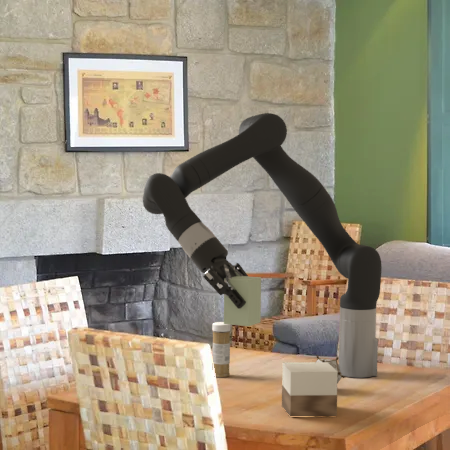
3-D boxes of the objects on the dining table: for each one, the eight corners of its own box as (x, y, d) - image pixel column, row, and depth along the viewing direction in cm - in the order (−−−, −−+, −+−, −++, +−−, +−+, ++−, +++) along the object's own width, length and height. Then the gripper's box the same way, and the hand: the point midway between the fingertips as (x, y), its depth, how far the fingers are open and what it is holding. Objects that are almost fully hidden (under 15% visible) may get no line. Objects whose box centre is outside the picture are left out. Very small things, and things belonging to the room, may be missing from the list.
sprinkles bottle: (222, 373, 245) (222, 320, 244) (233, 376, 241) (234, 323, 241) (207, 375, 242) (208, 322, 241) (219, 378, 238) (220, 324, 238)
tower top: (326, 384, 213) (327, 362, 213) (336, 395, 203) (337, 371, 203) (282, 384, 212) (282, 362, 212) (290, 395, 202) (290, 372, 202)
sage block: (223, 323, 210) (224, 278, 209) (236, 320, 215) (236, 275, 214) (248, 326, 207) (248, 280, 206) (260, 322, 212) (261, 277, 212)
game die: (331, 404, 229) (356, 371, 230) (324, 399, 221) (350, 364, 222) (302, 382, 233) (327, 349, 233) (294, 376, 225) (319, 342, 226)
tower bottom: (326, 406, 213) (326, 384, 213) (336, 418, 203) (337, 395, 203) (281, 407, 212) (282, 385, 212) (290, 419, 202) (290, 395, 202)
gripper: (197, 238, 207) (245, 296, 202) (228, 234, 220) (274, 289, 215) (175, 261, 210) (223, 319, 205) (208, 255, 222) (253, 311, 218)
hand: (249, 303), depth 210 cm, fingers closed on sage block, 6 cm apart
